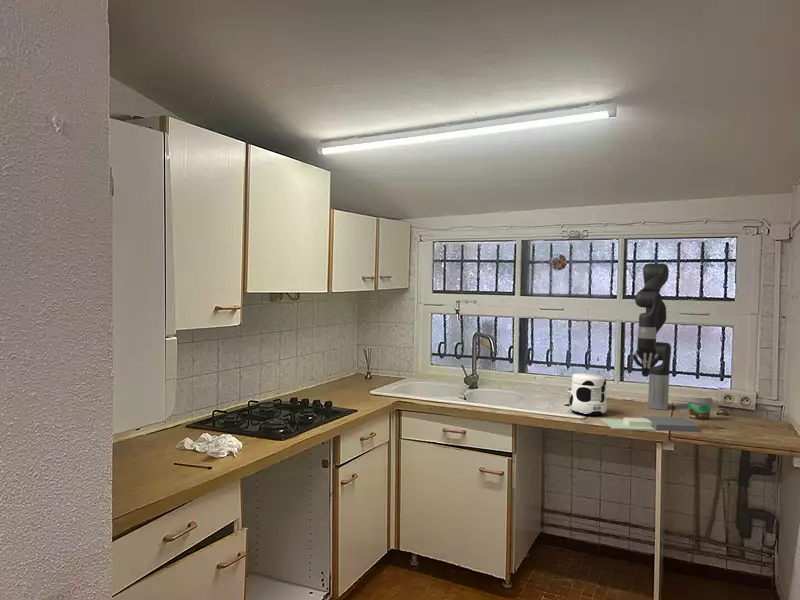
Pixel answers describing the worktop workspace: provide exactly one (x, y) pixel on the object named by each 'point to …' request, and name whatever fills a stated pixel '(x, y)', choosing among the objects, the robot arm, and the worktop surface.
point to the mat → (623, 425)
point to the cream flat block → (637, 422)
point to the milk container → (588, 394)
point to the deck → (672, 423)
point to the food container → (699, 408)
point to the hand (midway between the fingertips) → (645, 376)
